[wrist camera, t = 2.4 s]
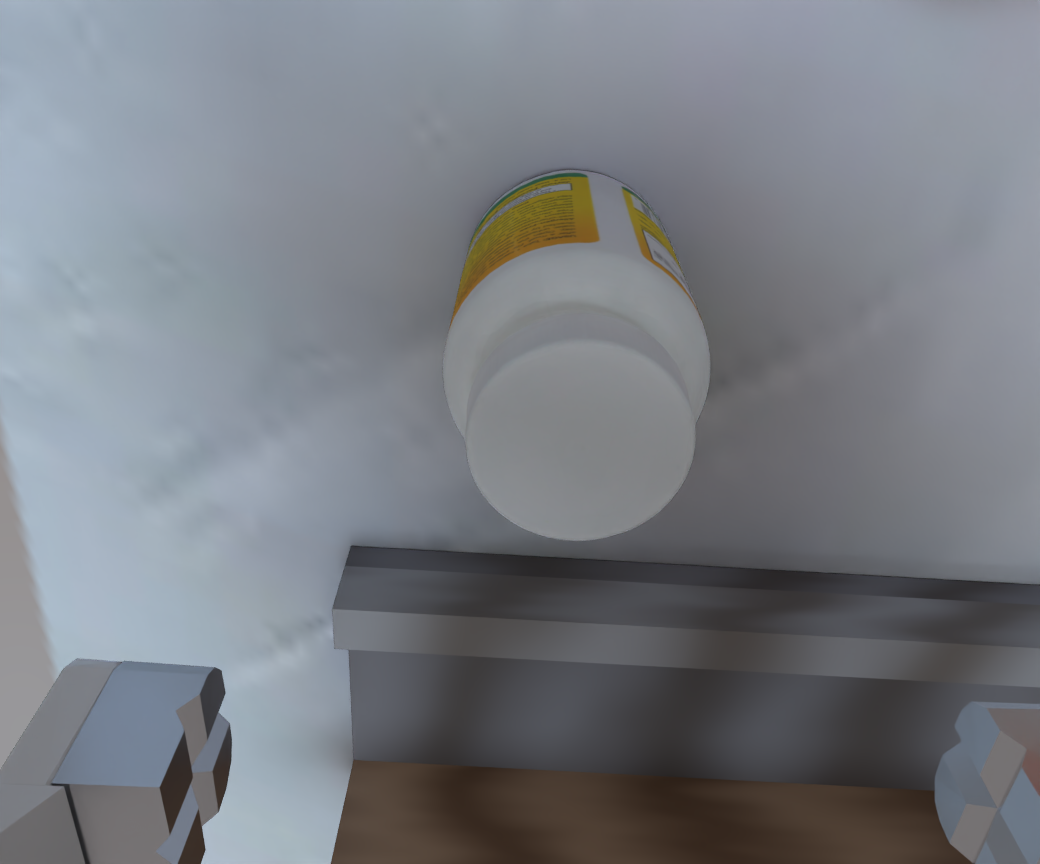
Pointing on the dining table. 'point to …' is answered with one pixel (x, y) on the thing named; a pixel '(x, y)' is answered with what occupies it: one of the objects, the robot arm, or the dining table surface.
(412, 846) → the board
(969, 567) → the dining table surface
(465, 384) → the supplement bottle
